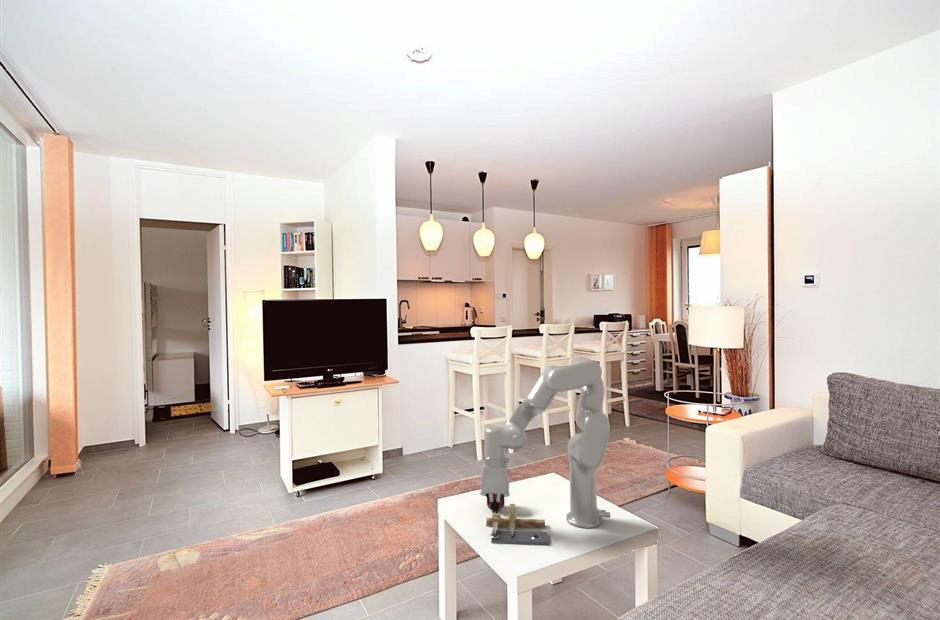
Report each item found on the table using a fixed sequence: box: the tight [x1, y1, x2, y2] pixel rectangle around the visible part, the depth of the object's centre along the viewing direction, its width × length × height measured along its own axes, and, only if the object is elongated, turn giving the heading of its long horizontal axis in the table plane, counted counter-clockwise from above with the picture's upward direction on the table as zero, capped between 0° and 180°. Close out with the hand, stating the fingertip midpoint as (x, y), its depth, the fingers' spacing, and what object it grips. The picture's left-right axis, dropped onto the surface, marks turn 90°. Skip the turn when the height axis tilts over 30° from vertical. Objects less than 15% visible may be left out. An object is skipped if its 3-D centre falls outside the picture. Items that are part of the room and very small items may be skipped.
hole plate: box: [489, 529, 550, 546], centre depth 156 cm, size 20×7×1 cm, turn 84°
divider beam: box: [485, 512, 546, 536], centre depth 161 cm, size 21×13×3 cm, turn 84°
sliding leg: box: [508, 503, 518, 536], centre depth 161 cm, size 3×13×7 cm, turn 174°
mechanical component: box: [486, 494, 505, 513], centre depth 180 cm, size 12×10×10 cm
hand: (495, 511), depth 166 cm, fingers closed
